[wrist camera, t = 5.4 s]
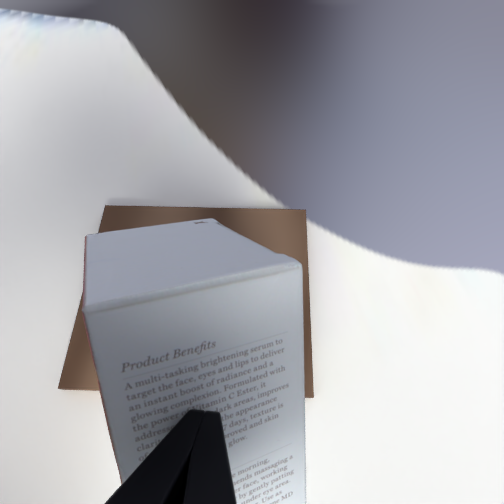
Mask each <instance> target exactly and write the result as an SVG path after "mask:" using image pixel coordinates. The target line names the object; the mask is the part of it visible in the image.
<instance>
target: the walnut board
mask: <svg viewBox="0 0 504 504" xmlns="http://www.w3.org/2000/svg"><path fill="white" fill-rule="evenodd" d="M209 218H213V219H215V220H216V221H218V222H219V223H220V224H222V225H223V226H225V227H227V228H229V229H231V230H233V231H234V232H236V233H238V234H240V235H242V236H244V237H246V238H248V239H250V240H252V241H254V242H256V243H258V244H260V245H262V246H264V247H266V248H268V249H270V250H271V251H273V252H275V253H278V254H285V255H287V256H289V257H292V258H294V259H296V260H297V261H299V262H300V263H301V264H302V270H303V328H304V391H305V398H313V397H314V392H313V369H312V345H311V321H310V297H309V274H308V250H307V226H306V210H295V209H248V208H202V207H155V206H109V205H105V208H104V212H103V216H102V220H101V224H100V228H99V232H98V233H103V232H110V231H117V230H125V229H133V228H140V227H148V226H155V225H162V224H170V223H178V222H185V221H192V220H201V219H209ZM82 306H83V293H82V297H81V301H80V305H79V309H78V313H77V316H76V320H75V324H74V328H73V332H72V336H71V340H70V343H69V347H68V351H67V355H66V359H65V363H64V367H63V370H62V374H61V378H60V382H59V386H58V389H63V390H93V391H100V390H99V386H98V381H97V377H96V373H95V368H94V364H93V360H92V355H91V351H90V347H89V342H88V338H87V333H86V329H85V324H84V320H83V315H82Z"/></svg>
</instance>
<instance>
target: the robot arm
mask: <svg viewBox="0 0 504 504" xmlns="http://www.w3.org/2000/svg"><path fill="white" fill-rule="evenodd" d="M105 504H237V501H236V495H235V490H234V484H233V479H232V473H231V468H230V462H229V457H228V451H227V446H226V440H225V435H224V429H223V424H222V418H221V414H220V412H218V411H204V410H197V409H190V410H189V411H188V412H187V413H186V414H185V415H184V416H183V417H182V418H181V419H180V420H179V422H178V423H177V424H176V425H175V426H174V427H173V428H172V429H171V430H170V432H169V433H168V434H167V435H166V436H165V437H164V438H163V439H162V440H161V442H160V443H159V444H158V445H157V446H156V447H155V448H154V449H153V450H152V452H151V453H150V454H149V455H148V456H147V457H146V458H145V459H144V460H143V462H142V463H141V464H140V465H139V466H138V467H137V468H136V469H135V470H134V472H133V473H132V474H131V475H130V476H129V477H128V478H127V479H126V480H125V481H124V483H123V484H122V485H121V486H120V487H119V488H118V489H117V490H116V491H115V493H114V494H113V495H112V496H111V497H110V498H109V499H108V500H107V501H106V503H105Z"/></svg>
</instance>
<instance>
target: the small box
mask: <svg viewBox="0 0 504 504" xmlns="http://www.w3.org/2000/svg"><path fill="white" fill-rule="evenodd" d="M82 315H83V320H84V324H85V329H86V333H87V338H88V342H89V347H90V351H91V355H92V360H93V364H94V368H95V373H96V377H97V381H98V386H99V390H100V395H101V399H102V404H103V408H104V413H105V417H106V422H107V426H108V431H109V435H110V439H111V443H112V447H113V451H114V455H115V459H116V463H117V466H118V470H119V474H120V479H121V484H123V483H124V481H125V480H126V479H127V478H128V477H129V476H130V475H131V474H132V473H133V472H134V470H135V469H136V468H137V467H138V466H139V465H140V464H141V463H142V462H143V460H144V459H145V458H146V457H147V456H148V455H149V454H150V453H151V452H152V450H153V449H154V448H155V447H156V446H157V445H158V444H159V443H160V442H161V440H162V439H163V438H164V437H165V436H166V435H167V434H168V433H169V432H170V430H171V429H172V428H173V427H174V426H175V425H176V424H177V423H178V422H179V420H180V419H181V418H182V417H183V416H184V415H185V414H186V413H187V412H188V411H189V410H190V409H197V410H204V411H218V412H220V414H221V418H222V424H223V429H224V435H225V440H226V446H227V451H228V457H229V462H230V468H231V473H232V479H233V484H234V490H235V495H236V501H237V504H306V462H305V391H304V328H303V270H302V264H301V263H300V262H299V261H297V260H296V259H294V258H292V257H289V256H287V255H285V254H278V253H275V252H273V251H271V250H270V249H268V248H266V247H264V246H262V245H260V244H258V243H256V242H254V241H252V240H250V239H248V238H246V237H244V236H242V235H240V234H238V233H236V232H234V231H233V230H231V229H229V228H227V227H225V226H223V225H222V224H220V223H219V222H218V221H216V220H215V219H213V218H209V219H201V220H192V221H185V222H178V223H170V224H162V225H155V226H148V227H140V228H133V229H125V230H117V231H110V232H103V233H97V234H90V235H86V236H85V252H84V280H83V306H82Z"/></svg>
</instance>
